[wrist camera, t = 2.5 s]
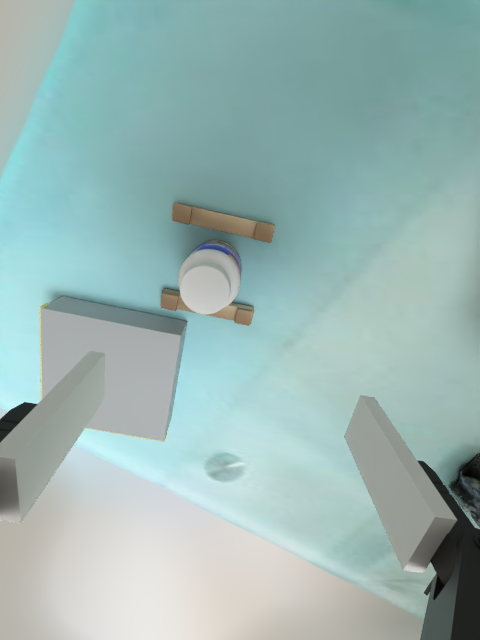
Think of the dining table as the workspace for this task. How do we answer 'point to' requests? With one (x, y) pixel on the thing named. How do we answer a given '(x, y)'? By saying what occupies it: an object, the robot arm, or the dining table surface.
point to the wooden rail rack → (225, 224)
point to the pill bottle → (210, 277)
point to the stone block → (470, 489)
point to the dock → (116, 361)
